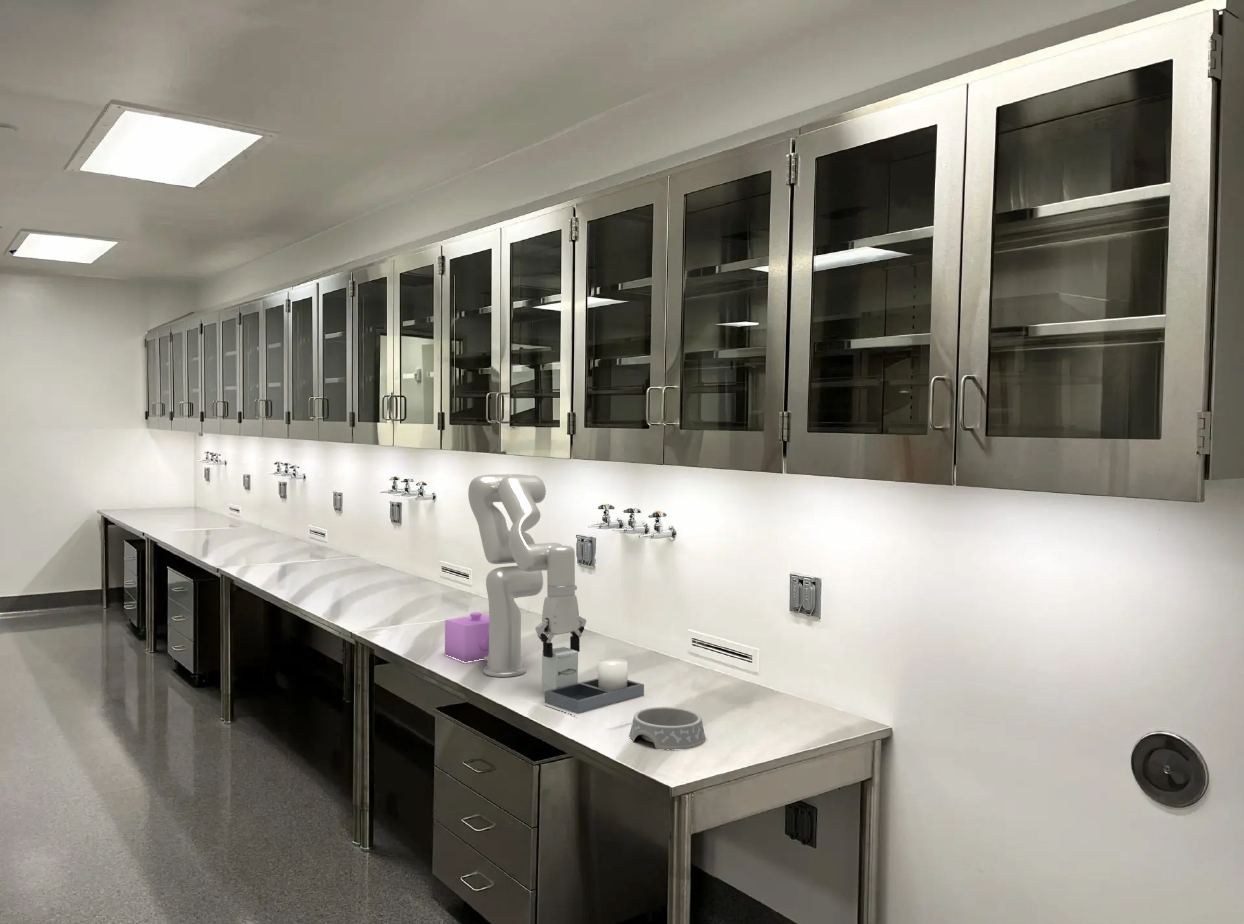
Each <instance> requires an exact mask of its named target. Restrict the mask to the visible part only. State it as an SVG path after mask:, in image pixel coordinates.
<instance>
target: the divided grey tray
mask: <svg viewBox="0 0 1244 924" xmlns="http://www.w3.org/2000/svg"><path fill="white" fill-rule="evenodd" d="M644 696H645V684H644V683H640V682H637V681H633V680H629V679H628V681H627V688H623V689H619V690H615V691H611V692H610V691H607V690H604V689H601V688H598V677H596V678H592V679H590V680H585V681H580V682H578V683H576V684H572V685H568V686H564V687H559V688H555V689H551V690H547V691H545V693H544V703H546V704H548V705H551V706H553V707H550V706H548V705H544V707H546V708H549V709H552V710H554V711H555V710H556V711H558V712H560V711H561V713H563V712H564V713H563V714H566V713H568V712H572V713H575V714H577V715H578V714H579V715H580V714H582V713H585V712H589V711H590V712H591V711H593V710H597V709H600V708H604V707H607V706H610V705H614V704H619V703H621V702H626V701H629V700H632V699H636V698H640V697H644ZM555 707H556V708H555ZM557 708H560V709H563V710H565V711H568V712H565V711H563V710H560V709H557ZM572 713H568V714H567V715H569V714H570V715H569V716H572V715H574V714H572ZM575 716H576V715H574V716H573V717H575Z"/></svg>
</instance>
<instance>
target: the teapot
mask: <svg viewBox="0 0 1244 924" xmlns="http://www.w3.org/2000/svg"><path fill="white" fill-rule="evenodd" d="M445 654H446V655H448V656H451V657H454V658H456V659H459V660H461V661H464V662H468V661H474V660H479V659H484V657H485V656H487V655H488V654H489V614H487V613H486V614H482V613H481V612H477V611H476V612H471V613H470V616H469V615H468V616H463V617H455V618H448V619H445V620H444V655H445Z"/></svg>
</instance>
